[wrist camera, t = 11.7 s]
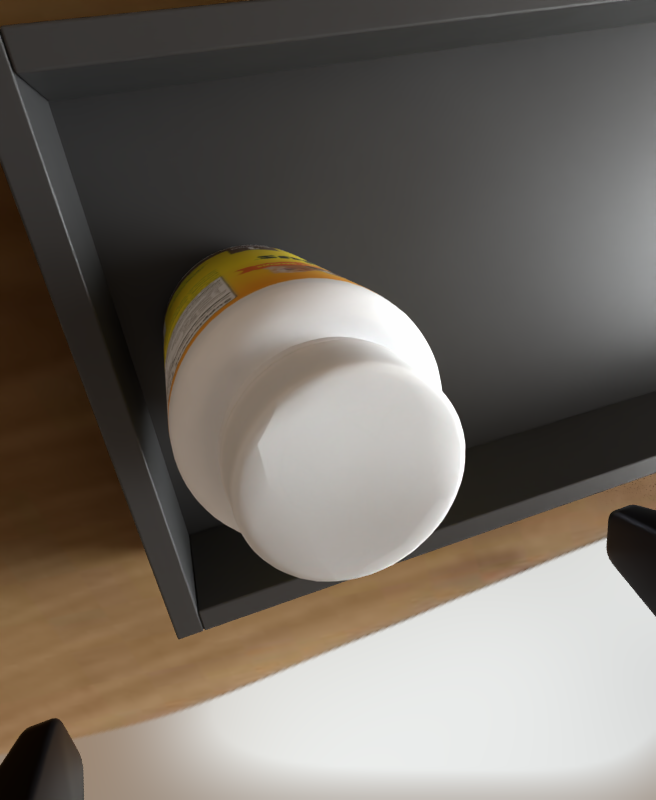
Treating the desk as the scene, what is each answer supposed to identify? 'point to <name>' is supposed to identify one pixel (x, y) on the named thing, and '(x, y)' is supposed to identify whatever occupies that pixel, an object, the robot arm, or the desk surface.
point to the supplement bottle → (307, 414)
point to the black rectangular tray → (355, 228)
